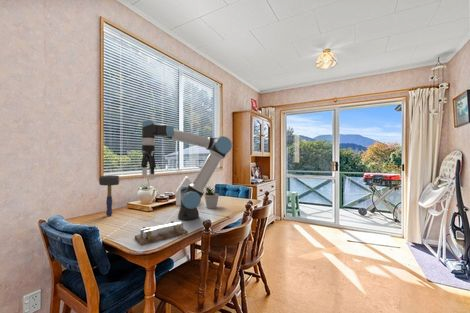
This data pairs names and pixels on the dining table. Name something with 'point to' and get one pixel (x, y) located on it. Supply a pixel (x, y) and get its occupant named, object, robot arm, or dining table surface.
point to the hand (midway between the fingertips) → (148, 178)
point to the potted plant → (211, 198)
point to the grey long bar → (160, 230)
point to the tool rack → (160, 236)
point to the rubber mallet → (109, 189)
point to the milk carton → (185, 182)
